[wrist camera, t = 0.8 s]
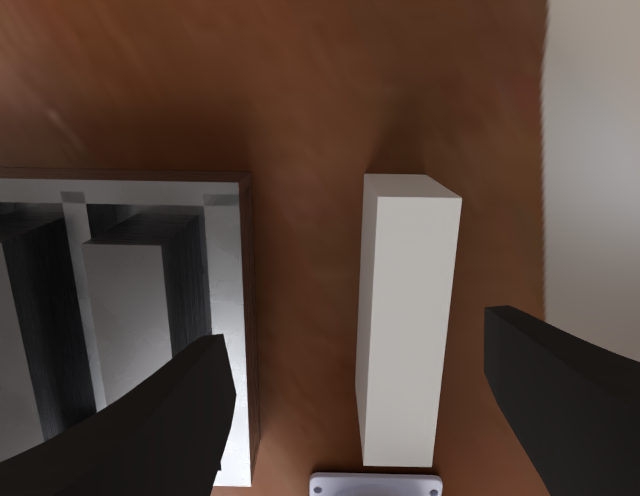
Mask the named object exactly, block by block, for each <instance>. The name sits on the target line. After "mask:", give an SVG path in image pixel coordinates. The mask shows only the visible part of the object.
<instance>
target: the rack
mask: <svg viewBox="0 0 640 496" xmlns="http://www.w3.org/2000/svg"><path fill="white" fill-rule="evenodd" d="M213 334H224V338H225V343H226V348H227V352H228V357H229V361H230V366H231V371H232V375H233V380H234V385H235V389H236V394H237V396H236V402H235V409H234V415H233V421H232V426H231V430H230V433H229V437H228V440H227V443H226V447H225V450H224V453H223V456H222V459H221V463H220V466H219V469H218V472H217V475H216V478H215V482H214V485H213V486H247V487H251V484H252V479H253V474H254V469H255V464H256V459H257V454H258V449H259V444H260V421H259V390H258V358H257V327H256V296H255V265H254V234H253V202H252V172H233V171H176V170H120V169H63V168H7V167H0V462H2V461H4V460H6V459H8V458H11V457H13V456H15V455H17V454H20V453H22V452H24V451H26V450H28V449H30V448H32V447H35V446H37V445H39V444H41V443H43V442H45V441H47V440H48V439H50V438H52V437H54V436H56V435H58V434H60V433H62V432H64V431H65V430H67V429H69V428H71V427H73V426H75V425H77V424H79V423H80V422H82V421H84V420H86V419H87V418H89V417H91V416H92V415H94V414H96V413H97V412H99V411H100V410H102V409H104V408H105V407H107V406H108V405H110V404H111V403H113V402H115V401H116V400H118V399H119V398H120V397H122V396H123V395H125V394H126V393H128V392H129V391H130V390H132V389H133V388H134V387H136V386H137V385H138V384H140V383H141V382H143V381H144V380H145V379H147V378H148V377H149V376H151V375H152V374H153V373H155V372H156V371H157V370H158V369H160V368H161V367H162V366H163V365H165V364H166V363H167V362H168V361H170V360H171V359H172V358H173V357H175V356H176V355H177V354H178V353H180V352H181V351H182V350H183V349H185V348H186V347H187V346H188V345H190V344H191V343H192V342H194V341H195V340H196V339H198V338H199V337H201V336H203V335H213Z"/></svg>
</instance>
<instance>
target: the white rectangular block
mask: <svg viewBox="0 0 640 496" xmlns="http://www.w3.org/2000/svg"><path fill="white" fill-rule="evenodd" d="M461 203H462V198H461V197H460V196H458V195H457V194H455V193H454V192H452V191H450V190H449V189H447V188H446V187H444V186H443V185H441V184H440V183H438V182H437V181H435V180H434V179H432V178H430V177H429V176H427V175H415V174H364V191H363V214H362V237H361V260H360V284H359V307H358V330H357V353H356V376H355V389H356V399H357V408H358V418H359V427H360V437H361V446H362V456H363V466H403V467H432V460H433V451H434V442H435V433H436V424H437V416H438V407H439V398H440V389H441V380H442V371H443V363H444V354H445V345H446V336H447V327H448V318H449V309H450V301H451V292H452V283H453V274H454V265H455V256H456V248H457V239H458V230H459V221H460V212H461Z"/></svg>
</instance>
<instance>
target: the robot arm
mask: <svg viewBox="0 0 640 496" xmlns="http://www.w3.org/2000/svg"><path fill="white" fill-rule="evenodd" d="M484 373H485V375H486V378H487V380H488V383H489V385H490V388H491V390H492V392H493V395H494V397H495V399H496V401H497V404H498V406H499V407H500V409H501V411H502V413H503V414H504V416H505V418H506V419H507V421H508V423H509V425H510V426H511V428H512V430H513V431H514V433H515V435H516V436H517V438H518V440H519V441H520V443H521V445H522V446H523V448H524V450H525V452H526V453H527V455H528V457H529V458H530V460H531V462H532V463H533V465H534V467H535V468H536V470H537V472H538V473H539V475H540V477H541V478H542V480H543V482H544V484H545V486H546V488H547V490H548V491H549V493H550V495H551V496H640V362H637V361H635V360H632V359H629V358H626V357H624V356H621V355H618V354H616V353H613V352H611V351H608V350H606V349H603V348H601V347H599V346H596V345H594V344H591V343H589V342H587V341H584V340H582V339H580V338H578V337H575V336H573V335H571V334H569V333H567V332H564V331H562V330H560V329H558V328H556V327H554V326H552V325H550V324H548V323H546V322H544V321H542V320H540V319H537V318H535V317H533V316H531V315H529V314H527V313H525V312H523V311H521V310H518V309H516V308H514V307H511V306H508V305H506V306H496V307H486V308H485V322H484ZM236 396H237V394H236V389H235V385H234V380H233V375H232V371H231V366H230V361H229V357H228V352H227V348H226V343H225V338H224V334H213V335H203V336H201V337H199V338H198V339H196V340H195V341H194V342H192V343H191V344H190V345H188V346H187V347H186V348H185V349H183V350H182V351H181V352H180V353H178V354H177V355H176V356H175V357H173V358H172V359H171V360H170V361H168V362H167V363H166V364H165V365H163V366H162V367H161V368H160V369H158V370H157V371H156V372H155V373H153V374H152V375H151V376H149V377H148V378H147V379H145V380H144V381H143V382H141V383H140V384H138V385H137V386H136V387H134V388H133V389H132V390H130V391H129V392H128V393H126V394H125V395H123V396H122V397H120V398H119V399H118V400H116V401H115V402H113V403H111V404H110V405H108V406H107V407H105V408H104V409H102V410H100V411H99V412H97V413H96V414H94V415H92V416H91V417H89V418H87V419H86V420H84V421H82V422H80V423H79V424H77V425H75V426H73V427H71V428H69V429H67V430H65V431H64V432H62V433H60V434H58V435H56V436H54V437H52V438H50V439H48V440H47V441H45V442H43V443H41V444H39V445H37V446H35V447H32V448H30V449H28V450H26V451H24V452H22V453H20V454H17V455H15V456H13V457H11V458H8V459H6V460H4V461H2V462H0V496H210V494H211V491H212V488H213V485H214V482H215V478H216V475H217V472H218V469H219V466H220V463H221V459H222V456H223V453H224V450H225V447H226V443H227V440H228V437H229V433H230V430H231V426H232V421H233V415H234V409H235V402H236ZM316 487H320V488H316ZM442 487H443V485H442V481H441V479H440V477H438V476H436V475H408V474H366V473H325V472H317V473H313V474H312V475H311V476H310V492H309V496H441V495H442ZM431 490H434V491H431Z"/></svg>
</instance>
